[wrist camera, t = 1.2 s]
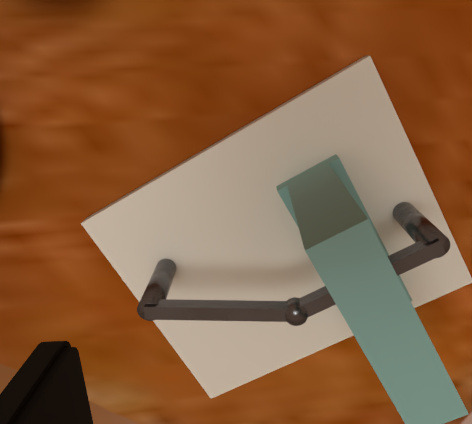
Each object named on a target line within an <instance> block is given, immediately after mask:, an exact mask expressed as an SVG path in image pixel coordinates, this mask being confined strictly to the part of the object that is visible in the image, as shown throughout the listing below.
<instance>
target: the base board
mask: <svg viewBox="0 0 472 424" xmlns="http://www.w3.org/2000/svg"><path fill="white" fill-rule="evenodd" d="M335 154H336V155H337V156H338V157H339V158H340V160H341V162H342V164H343V166H344V168H345V170H346V172H347V174H348V176H349V178H350V180H351V182H352V184H353V186H354V188H355V190H356V192H357V193H358V195H359V197H360V199H361V201H362V203H363V205H364V207H365V209H366V211H367V213H368V215H369V217H370V219H371V221H372V223H373V225H374V227H375V228H376V230H377V232H378V234H379V236H380V238H381V240H382V242H383V244H384V246H385V248H386V250H387V252H388V254H389V255H391V254H393V253H395V252H398V251H400V250H402V249H404V248H406V247H408V246H410V245H412V244H414V243H415V242H414V240H413V239H412V238H411V237H410V236H409V235H408V234H407V232H406V231H405V230H404V229H403V228H402V227H401V226H400V224H399V223H398V222H397V221H396V220H395V219H394V217H393V209H394V207H395V206H396V205H397V204H399V203H401V202H409V203H411V204H412V205H413V206H414V207H415V208H416V209H417V210H418V211H419V212H421V213H422V214H423V215H424V216H425V217H426V218H427V219H428V220H429V221H430V222H431V223H432V224H433V225H435V226H436V227H437V228H438V229H439V230H440V231H441V232H442V233H443V234H444V235H445V236H446V237H447V238H448V239H449V241H450V249H449V251H448V252H447V253H446V254H445V255H444V256H442V257H440V258H435V259H433V260H431V261H428V262H426V263H424V264H422V265H420V266H418V267H415V268H413V269H411V270H409V271H407V272H405V273H403V274H400V277H401V279H402V281H403V283H404V285H405V287H406V289H407V291H408V293H409V295H410V297H411V298H412V300H413V301H411V303H412V305H413V307H414V308H416V307H418V306H420V305H423V304H425V303H427V302H429V301H432V300H434V299H436V298H438V297H441V296H443V295H445V294H447V293H450V292H452V291H454V290H456V289H459V288H461V287H463V286H465V285H468V284H470V283H472V278H471V275H470V273H469V271H468V269H467V267H466V265H465V262H464V260H463V258H462V256H461V254H460V251H459V249H458V247H457V245H456V243H455V240H454V238H453V236H452V234H451V232H450V229H449V227H448V225H447V223H446V221H445V219H444V216H443V214H442V212H441V210H440V208H439V205H438V203H437V201H436V199H435V197H434V194H433V192H432V190H431V188H430V186H429V183H428V181H427V179H426V177H425V175H424V173H423V170H422V168H421V166H420V164H419V162H418V159H417V157H416V155H415V153H414V151H413V148H412V146H411V144H410V142H409V140H408V137H407V135H406V133H405V131H404V129H403V126H402V124H401V122H400V120H399V118H398V116H397V113H396V111H395V109H394V107H393V105H392V102H391V100H390V98H389V96H388V94H387V91H386V89H385V87H384V85H383V83H382V80H381V78H380V76H379V74H378V72H377V70H376V67H375V65H374V63H373V61H372V59H371V56H364V57H362V58H361V59H359V60H357V61H356V62H354V63H352V64H350V65H349V66H347V67H345V68H344V69H342V70H340V71H338V72H337V73H335V74H333V75H332V76H330V77H328V78H326V79H325V80H323V81H321V82H319V83H318V84H316V85H314V86H313V87H311V88H309V89H307V90H306V91H304V92H302V93H301V94H299V95H297V96H295V97H294V98H292V99H290V100H288V101H287V102H285V103H283V104H282V105H280V106H278V107H276V108H275V109H273V110H271V111H270V112H268V113H266V114H264V115H263V116H261V117H259V118H258V119H256V120H254V121H252V122H251V123H249V124H247V125H245V126H244V127H242V128H240V129H239V130H237V131H235V132H233V133H232V134H230V135H228V136H227V137H225V138H223V139H221V140H220V141H218V142H216V143H215V144H213V145H211V146H209V147H208V148H206V149H204V150H202V151H201V152H199V153H197V154H196V155H194V156H192V157H190V158H189V159H187V160H185V161H184V162H182V163H180V164H178V165H177V166H175V167H173V168H171V169H170V170H168V171H166V172H165V173H163V174H161V175H159V176H158V177H156V178H154V179H153V180H151V181H149V182H147V183H146V184H144V185H142V186H141V187H139V188H137V189H135V190H134V191H132V192H130V193H128V194H127V195H125V196H123V197H122V198H120V199H118V200H116V201H115V202H113V203H111V204H110V205H108V206H106V207H104V208H103V209H101V210H99V211H98V212H96V213H94V214H92V215H91V216H89V217H87V218H86V219H85V220H84V221H83V222H82V223H81V224H82V226H83V227H84V228H85V230H86V231H87V232H88V234H89V235H90V236H91V238H92V239H93V240H94V242H95V243H96V244H97V246H98V247H99V249H100V250H101V251H102V253H103V254H104V255H105V257H106V258H107V259H108V261H109V262H110V263H111V265H112V266H113V267H114V269H115V270H116V271H117V273H118V274H119V275H120V277H121V278H122V279H123V281H124V282H125V284H126V285H127V286H128V288H129V289H130V290H131V292H132V293H133V294H134V296H135V297H136V298H137V300H138V301H139V302H140V300H141V298H142V296H143V294H144V291H145V289H146V287H147V285H148V283H149V281H150V278H151V276H152V274H153V272H154V270H155V267H156V265H157V263H158V262H159V261H160V260H161V259H170V260H172V261H174V263H175V264H176V267H177V270H176V273H175V276H174V278H173V281H172V284H171V287H170V290H169V293H168V295H167V298H166V299H174V300H245V301H287V300H288V299H290V298H293V297H297V298H301V297H303V296H305V295H307V294H309V293H311V292H314V291H316V290H318V289H320V288H322V287H324V286H325V284H324V283H323V281H322V279H321V278H320V276H319V274H318V272H317V271H316V269H315V267H314V265H313V264H312V262H311V260H310V259H309V257H308V255H307V253H306V252H305V249H304V246H303V242H302V238H301V235H300V231H299V228H298V226H297V225H296V223H295V221H294V219H293V218H292V216H291V214H290V212H289V211H288V209H287V207H286V205H285V204H284V202H283V200H282V199H281V197H280V195H279V193H278V192H277V187H276V186H278V185H280V184H281V183H283V182H285V181H287V180H289V179H291V178H292V177H294V176H296V175H298V174H300V173H302V172H304V171H305V170H307V169H309V168H311V167H313V166H315V165H317V164H318V163H320V162H322V161H324V160H326V159H328V158H329V157H331V156H333V155H335ZM153 321H154V323H155V324H156V325H157V327H158V328H159V329H160V331H161V332H162V333H163V335H164V336H165V337H166V339H167V340H168V341H169V343H170V344H171V345H172V347H173V348H174V350H175V351H176V352H177V354H178V355H179V356H180V358H181V359H182V360H183V362H184V363H185V364H186V366H187V367H188V368H189V370H190V371H191V372H192V374H193V375H194V376H195V378H196V379H197V380H198V382H199V383H200V385H201V386H202V387H203V389H204V390H205V391H206V393H207V394H208V395H209V397H210V398H214V397H216V396H218V395H220V394H223V393H225V392H227V391H229V390H232V389H234V388H236V387H238V386H241V385H243V384H245V383H247V382H250V381H252V380H254V379H256V378H259V377H261V376H263V375H265V374H268V373H270V372H272V371H274V370H277V369H279V368H281V367H283V366H286V365H288V364H290V363H292V362H295V361H297V360H299V359H301V358H304V357H306V356H308V355H310V354H313V353H315V352H317V351H319V350H322V349H324V348H326V347H328V346H331V345H333V344H335V343H337V342H340V341H342V340H344V339H346V338H349V337H351V336H353V335H354V334H353V333H352V331H351V329H350V328H349V326H348V324H347V322H346V321H345V319H344V317H343V315H342V314H341V312H340V310H339V309H338V307H337V305H334V306H332V307H329V308H327V309H325V310H323V311H321V312H319V313H316V314H314V315H312V316H310V317H308V318H307V320H306V322H305V323H304V324H302V325H299V326H293V325H290V324H289V323H288V322H261V321H198V320H153Z"/></svg>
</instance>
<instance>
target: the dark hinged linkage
mask: <svg viewBox="0 0 472 424" xmlns="http://www.w3.org/2000/svg"><path fill="white" fill-rule="evenodd" d="M393 217H394V219H395V220H396V221H397V222H398V223H399V224H400V226H401V227H402V228H403V229H404V230H405V231H406V232H407V234H408V235H409V236H410V237H411V238H412V239H413V240H414V242H415V243H414V244H412V245H410V246H408V247H406V248H404V249H402V250H400V251H398V252H395V253H393V254H391V255H389V256H387V257H388V259H389V261H390V262H391V264H392V266H393V268H394V270H395V272H396V274H397V276H398V275H400V274H403V273H405V272H407V271H409V270H411V269H413V268H415V267H418V266H420V265H422V264H424V263H426V262H428V261H431V260H433V259H435V258H440V257H442V256H444V255H445V254H446V253H447V252H448V251H449V249H450V241H449V239H448V238H447V237H446V236H445V235H444V234H443V233H442V232H441V231H440V230H439V229H438V228H437V227H436V226H435V225H433V224H432V223H431V222H430V221H429V220H428V219H427V218H426V217H425V216H424V215H423V214H422V213H421V212H419V211H418V210H417V209H416V208H415V207H414V206H413V205H412V204H411V203H409V202H401V203H399V204H397V205H396V206H395V207H394V209H393ZM176 270H177V267H176V264H175V263H174V261H172V260H170V259H161V260H160V261H159V262H158V263H157V265H156V267H155V270H154V272H153V274H152V276H151V278H150V281H149V283H148V285H147V287H146V289H145V291H144V294H143V296H142V298H141V300H140V302H139V305H138V307H137V312H138V314H139V316H140V317H141V318H143V319H145V320H148V321H153V320H198V321H261V322H288V323H289V324H290V325H293V326H299V325H302V324H304V323H305V322H306V320H307V318H308V317H310V316H312V315H314V314H316V313H319V312H321V311H323V310H325V309H327V308H329V307H332V306H334V305H336V303H335V302H334V300H333V298H332V297H331V295H330V293H329V291H328V290H327V288H326V286H324V287H322V288H320V289H318V290H316V291H314V292H311V293H309V294H307V295H305V296H303V297H301V298H297V297H293V298H290V299H288V300H287V301H245V300H174V299H166V298H167V295H168V293H169V290H170V287H171V284H172V281H173V278H174V276H175V273H176Z"/></svg>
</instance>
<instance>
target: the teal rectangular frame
mask: <svg viewBox="0 0 472 424" xmlns="http://www.w3.org/2000/svg"><path fill="white" fill-rule="evenodd" d="M276 187H277V192H278V193H279V195H280V197H281V199H282V200H283V202H284V204H285V205H286V207H287V209H288V211H289V212H290V214H291V216H292V218H293V219H294V221H295V223H296V225H297V226H298V228H299V231H300V235H301V238H302V242H303V246H304V249H305V252H306V253H307V255H308V257H309V259H310V260H311V262H312V264H313V265H314V267H315V269H316V271H317V272H318V274H319V276H320V278H321V279H322V281H323V283H324V284H325V286H326V288H327V290H328V291H329V293H330V295H331V297H332V298H333V300H334V302H335V303H336V305H337V307H338V309H339V310H340V312H341V314H342V315H343V317H344V319H345V321H346V322H347V324H348V326H349V328H350V329H351V331H352V333H353V334H354V336H355V338H356V340H357V341H358V343H359V345H360V347H361V348H362V350H363V352H364V353H365V355H366V357H367V359H368V360H369V362H370V364H371V366H372V367H373V369H374V371H375V372H376V374H377V376H378V378H379V379H380V381H381V383H382V384H383V386H384V388H385V390H386V391H387V393H388V395H389V397H390V398H391V400H392V402H393V403H394V405H395V407H396V409H397V410H398V412H399V414H400V416H401V417H402V419H403V421H404V422H405V424H444V423H447V422H449V421H452V420H454V419H457V418H460V417H462V416H465V415H467V414H468V412H467V410H466V408H465V406H464V404H463V402H462V400H461V398H460V396H459V394H458V392H457V390H456V388H455V386H454V385H453V383H452V381H451V379H450V377H449V375H448V373H447V371H446V369H445V367H444V365H443V363H442V361H441V359H440V357H439V355H438V354H437V352H436V350H435V348H434V346H433V344H432V342H431V340H430V338H429V336H428V334H427V332H426V330H425V328H424V326H423V324H422V323H421V321H420V319H419V317H418V315H417V313H416V311H415V309H414V307H413V305H412V303H411V301H413V300H412V298H411V297H410V295H409V293H408V291H407V289H406V287H405V285H404V283H403V281H402V279H401V277H400V275H398V276H397V274H396V272H395V270H394V268H393V266H392V264H391V262H390V261H389V259H388V257H387V256H389V254H388V252H387V250H386V248H385V246H384V244H383V242H382V240H381V238H380V236H379V234H378V232H377V230H376V228H375V227H374V225H373V223H372V221H371V219H370V217H369V215H368V213H367V211H366V209H365V207H364V205H363V203H362V201H361V199H360V197H359V195H358V193H357V192H356V190H355V188H354V186H353V184H352V182H351V180H350V178H349V176H348V174H347V172H346V170H345V168H344V166H343V164H342V162H341V160H340V158H339V157H338V156H337V155H336V154H335V155H333V156H331V157H329V158H328V159H326V160H324V161H322V162H320V163H318V164H317V165H315V166H313V167H311V168H309V169H307V170H305V171H304V172H302V173H300V174H298V175H296V176H294V177H292V178H291V179H289V180H287V181H285V182H283V183H281V184H280V185H278V186H276Z"/></svg>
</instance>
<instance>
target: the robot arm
mask: <svg viewBox="0 0 472 424" xmlns="http://www.w3.org/2000/svg"><path fill="white" fill-rule="evenodd" d="M0 424H93V420H92V416H91V411H90V406H89V401H88V396H87V391H86V386H85V381H84V376H83V372H82V367H81V362H80V357H79V352H78V350H77V348H75V347H71V345H70V344H69V342H67V341H54V342H41V343H40V344H39V345H38V346H37V347H36V348H35V350H34V351H33V352H32V354H31V355H30V356H29V358H28V359H27V360H26V361H25V363H24V364H23V365H22V367H21V368H20V369H19V371H18V372H17V373H16V375H15V376H14V377H13V378H12V380H11V381H10V382H9V384H8V385H7V386H6V388H5V389H4V390H3V392H2V393H1V394H0Z"/></svg>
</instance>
